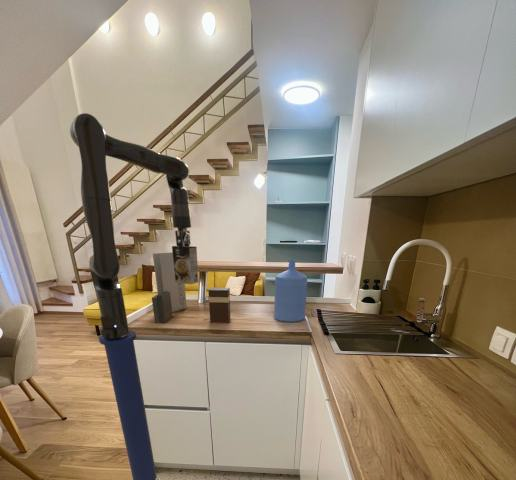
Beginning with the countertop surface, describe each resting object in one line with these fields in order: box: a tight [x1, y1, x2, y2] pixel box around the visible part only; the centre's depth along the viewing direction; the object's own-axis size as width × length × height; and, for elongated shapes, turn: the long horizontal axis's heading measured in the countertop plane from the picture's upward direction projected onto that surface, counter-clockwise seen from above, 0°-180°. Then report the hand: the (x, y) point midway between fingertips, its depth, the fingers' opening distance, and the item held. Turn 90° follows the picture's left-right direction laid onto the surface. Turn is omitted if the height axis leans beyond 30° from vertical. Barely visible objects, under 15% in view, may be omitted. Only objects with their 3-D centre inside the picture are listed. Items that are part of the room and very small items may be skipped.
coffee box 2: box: [207, 287, 231, 324], centre depth 133 cm, size 6×9×16 cm
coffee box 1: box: [171, 245, 200, 285], centre depth 127 cm, size 9×6×16 cm
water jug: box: [273, 260, 308, 323], centre depth 136 cm, size 16×16×28 cm
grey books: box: [151, 291, 173, 324], centre depth 135 cm, size 11×5×13 cm, turn 178°
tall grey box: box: [152, 252, 188, 313], centre depth 148 cm, size 14×6×30 cm, turn 147°
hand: (185, 255), depth 126 cm, fingers closed on coffee box 1, 7 cm apart
